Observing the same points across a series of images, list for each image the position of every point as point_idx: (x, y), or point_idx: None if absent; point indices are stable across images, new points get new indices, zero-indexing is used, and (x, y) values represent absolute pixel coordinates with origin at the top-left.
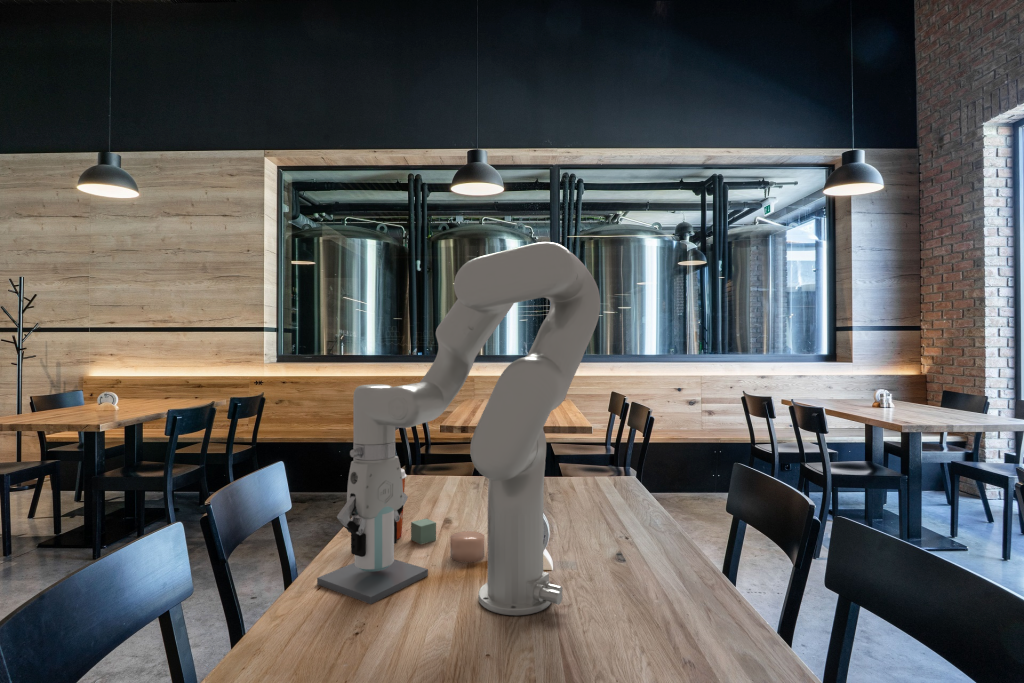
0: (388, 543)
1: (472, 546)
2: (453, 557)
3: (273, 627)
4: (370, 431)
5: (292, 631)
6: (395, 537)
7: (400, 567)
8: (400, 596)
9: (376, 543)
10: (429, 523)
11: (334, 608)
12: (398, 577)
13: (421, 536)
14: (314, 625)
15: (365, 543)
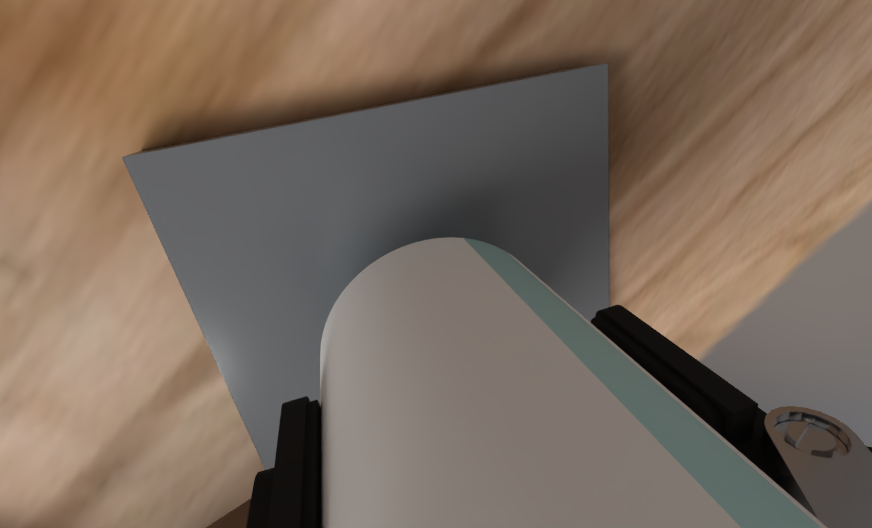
0: (459, 309)
1: None
2: None
3: (862, 174)
4: None
5: (864, 95)
6: (296, 431)
7: (272, 298)
8: (435, 23)
9: (581, 324)
10: None
11: (687, 156)
12: (360, 178)
13: None
14: (810, 76)
15: (651, 361)
